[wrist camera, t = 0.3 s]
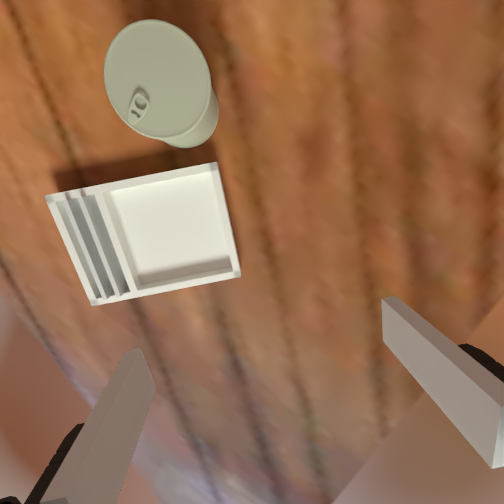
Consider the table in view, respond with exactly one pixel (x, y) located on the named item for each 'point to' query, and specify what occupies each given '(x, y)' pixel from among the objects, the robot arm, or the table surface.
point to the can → (161, 83)
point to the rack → (148, 233)
